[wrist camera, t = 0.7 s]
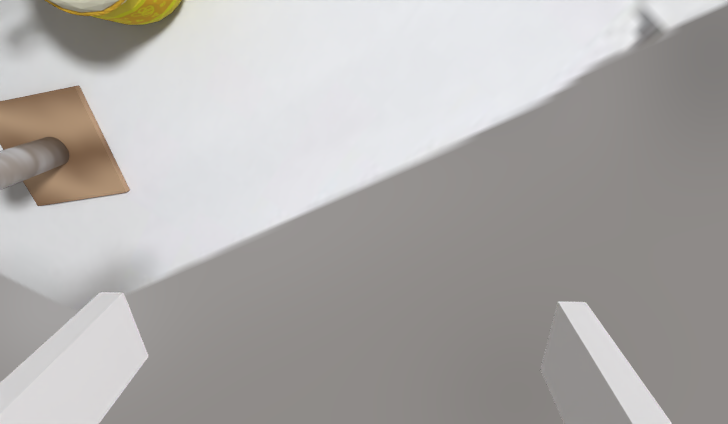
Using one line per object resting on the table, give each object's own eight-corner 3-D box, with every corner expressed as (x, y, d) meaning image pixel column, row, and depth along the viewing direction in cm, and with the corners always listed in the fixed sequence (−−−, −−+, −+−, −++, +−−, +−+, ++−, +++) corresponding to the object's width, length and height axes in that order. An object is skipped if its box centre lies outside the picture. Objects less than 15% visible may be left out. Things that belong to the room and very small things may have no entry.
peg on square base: (-17, 105, 37) (-141, 127, 29) (79, 85, 36) (-21, 102, 27) (42, 203, 42) (-49, 248, 33) (129, 190, 40) (58, 233, 32)
